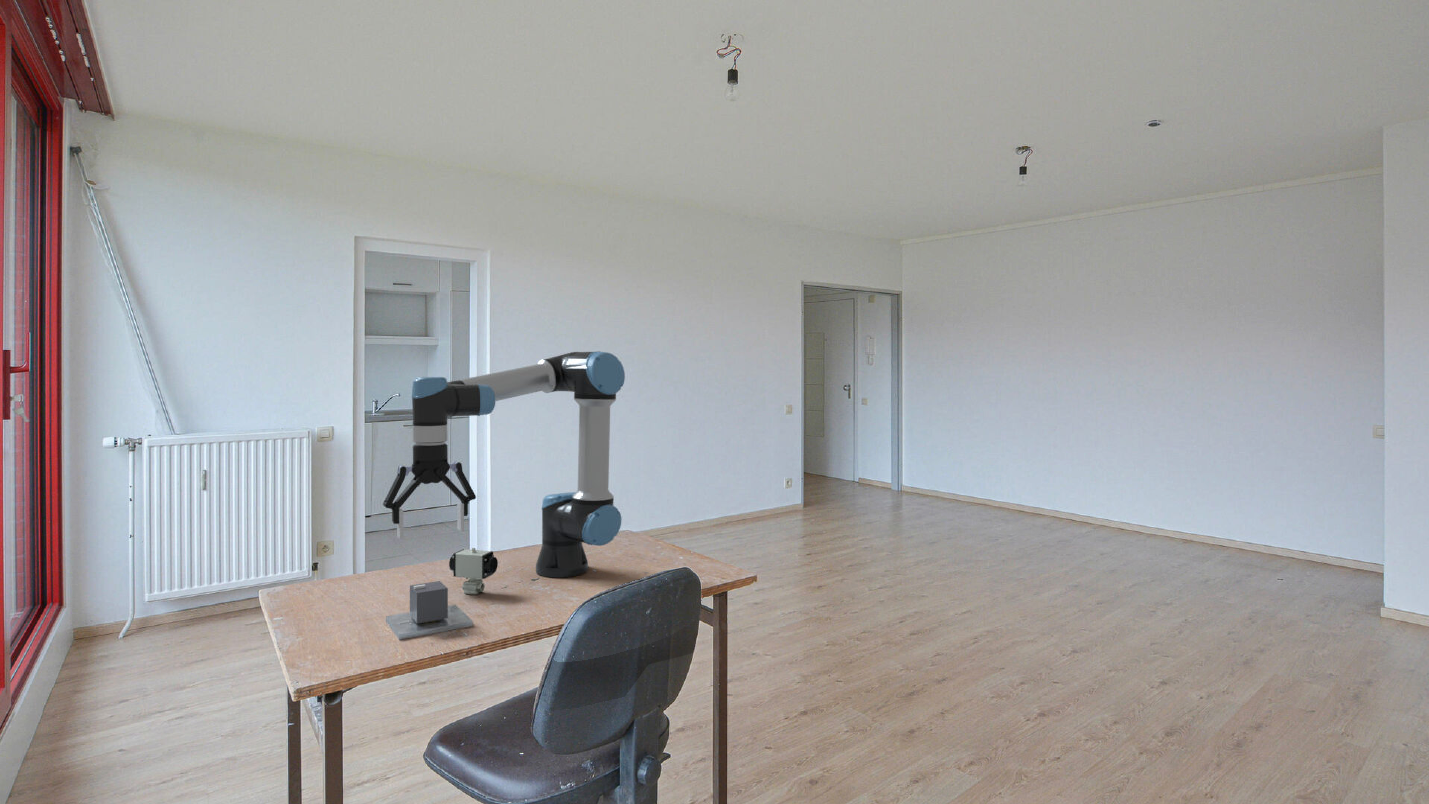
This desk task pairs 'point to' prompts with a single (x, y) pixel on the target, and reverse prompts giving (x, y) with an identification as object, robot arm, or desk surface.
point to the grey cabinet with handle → (428, 601)
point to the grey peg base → (427, 623)
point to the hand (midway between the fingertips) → (431, 533)
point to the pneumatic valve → (473, 568)
